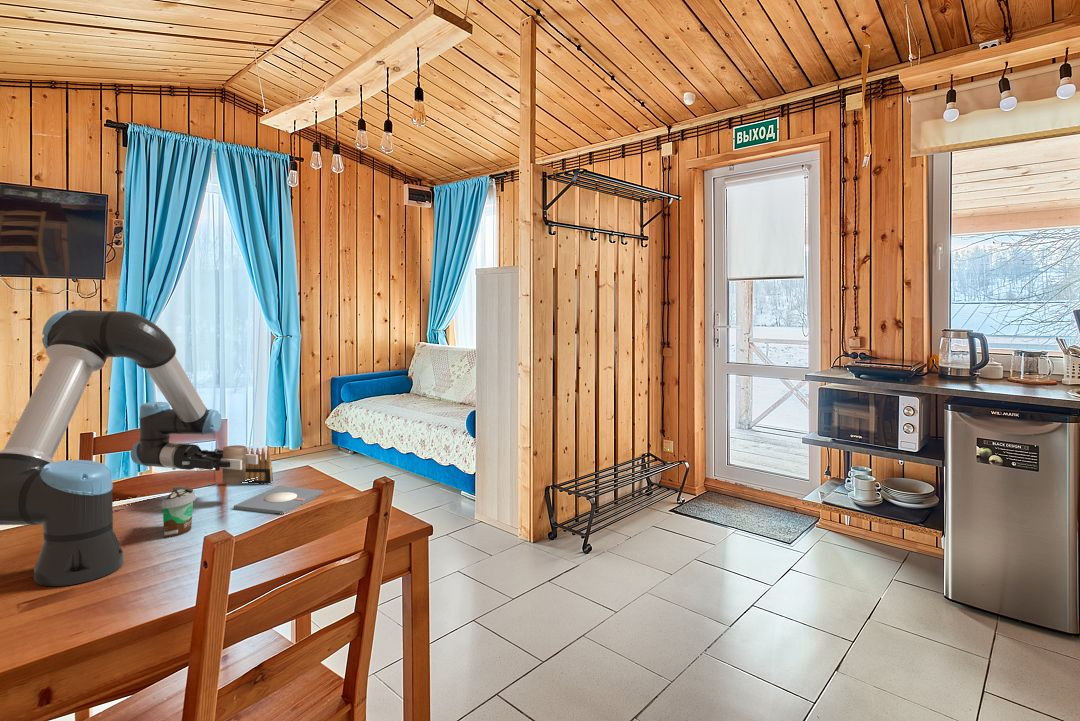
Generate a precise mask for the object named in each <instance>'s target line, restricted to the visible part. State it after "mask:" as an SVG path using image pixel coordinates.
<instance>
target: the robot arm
mask: <svg viewBox="0 0 1080 721" xmlns="http://www.w3.org/2000/svg"><path fill="white" fill-rule="evenodd" d="M42 336H43V337H42V338H41V343H42V345H43V347H44V349H45V354H46V356H47V358H48V359H49V361H48V363H47V365H46V367H45V369H44V371H43V373H42V375H41V376H40V379H39V380H38V382H37V383H36V384H37V385H36V386H35V388H34V390H33V392H32V393H31V396H30V397H29V400H28V402H27V404H26V406H25V407H24V409H23V412H22V413H21V415H20V417H19V419H18V421H17V423H16V425H15V427H14V429H13V431H12V433H11V435H10V436H9V438H8V440H7V442H6V444H5V446H4V448H3V449H2V450H0V526H38V525H39V526H42V530H43V544H42V546H41V549H40V552H39V555H38V559H37V561H36V564H35V566H34V569H33V580H34V581H33V582H35V583H36V584H38V585H40V586H45V587H63V586H71V585H76V584H77V585H78V584H83V583H86V582H90V581H94V580H97V579H100V578H103V577H106V576H109V575H110V574H112V573H114V572H116V571H117V570H119V569H121V567H122V566H123V565H124V561H125V560H124V559H125V558H124V557H125V556H124V555H125V554H124V551H123V548H122V546H121V544H120V543H119V542H120V541H119V540H118V537H117V536H116V534H115V532H114V525H113V524H114V518H113V516H114V514H113V512H114V511H113V508H114V507H113V487H114V483H113V480H112V479H113V478H112V473H111V469H110V468H109V467H108V466H107V465H106V464H104V463H102V462H99V461H94V460H87V459H86V460H84V459H74V460H69V459H68V460H67V459H66V460H58V461H54V460H53V459H54V457H55V454H56V453H57V450H58V449H59V446H60V444H61V442H62V439H63V437H64V435H65V432H66V431H67V429H68V427H69V424H70V422H71V420H72V417H73V416H74V413H75V411H76V408H77V407H78V405H79V402H80V400H81V398H82V396H83V393H84V392H85V389H86V387H87V385H88V383H89V381H90V379H91V377H92V375H93V373H94V372H96V371H100V370H102V369H103V368H104V365H105V364H106V362H107V359H108V358H127V359H129V360H133V361H134V362H135V364H136V366H138V367H139V368H142V369H145V370H146V372H147V373H148V375H149V377H150V378H151V380H152V381H153V382H154V384H155V385H156V387H157V388H158V390H159V391H160V392H161V394H162V395H163V396H164V398H165V400H166V401H167V402H166V401H165V402H164V401H151V402H144V403H142V404H141V406H140V408H139V417H138V419H139V441H137V442H135V443H134V444H133V445H132V448H131V451H130V458H131V460H132V462H133V463H135V464H137V465H141V466H145V467H156V468H170V469H172V470H173V471H175V470H176V469H178V470H186V471H187V470H188V471H189V470H190V471H191V470H194V469H202V470H213V469H214V471H215V472H218V471H220V469H223V468H225V469H236V470H241V469H242V460H236V459H225V458H223V449H218V448H215V449H214V450H207V449H203V450H202V449H201V447H200V446H199V445H198V444H194V443H193V444H191V443H180V442H170V438H171V437H170V435H202V436H204V435H214V434H216V433H218V432H219V431H220V429H221V427H222V414H221V412H220V411H219V410H216V409H212V408H211V409H208V408H207V407H206V405H205V404H204V402H203V400H202V399H201V397H200V395H199V393H198V392H197V391H196V389H195V387H194V385H193V383H192V382H191V379H190V378H189V377H188V375H187V373H186V371H185V370H184V368H183V367H182V365H181V363H180V361H179V360H178V358H177V356H176V355H177V349H176V346H175V345H174V342H173V341H172V340H171V338H170V337H169V336H168V335H167V334H166V332H164V330H162V328H160V327H159V326H158V325H156V324H155V323H154V322H152V321H151V320H149V319H148V318H146V317H144V316H142V315H139V314H138V313H134V312H131V311H122V310H121V311H119V310H117V311H115V310H113V311H112V310H87V309H81V308H79V309H78V308H77V309H71V310H69V309H67V310H61V311H58V312H56V313H54V314H53V315H51V317H49V318H48V319H47V321H46V322H45V324H44V325H43V328H42ZM246 464H258V455H256V454H254V455H253V454H250V453H249V454H246Z"/></svg>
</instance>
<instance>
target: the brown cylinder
mask: <svg viewBox="0 0 1080 721" xmlns="http://www.w3.org/2000/svg"><path fill="white" fill-rule="evenodd" d="M246 447H247V446H245V445H237V444H235V445H227V446H224V447H223V448H222V450H223V458H225V459H236V460H242V469H241V470H236V469H225V468H222V480H221V481H222V483H223V484H231V485H235V484H237V483H241V482H244V481H245V476H246Z"/></svg>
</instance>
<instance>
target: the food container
mask: <svg viewBox="0 0 1080 721" xmlns="http://www.w3.org/2000/svg"><path fill="white" fill-rule="evenodd" d="M196 496H197V495H196V493H195V491H194V489H193V488H191V487H189V486H172V491H171V493H169V494H168V495H167V498H166V499H162V504H161V509H162V516H163V517H162V519H163V520H162V522H163V538H164V539H169V537H170V538H174V537H179V536H181V535H184V534H186V533H189V532H190V531H191V530H192V523H193V508H194V502H195V500H196V499H197V497H196Z"/></svg>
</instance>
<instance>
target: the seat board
mask: <svg viewBox="0 0 1080 721" xmlns="http://www.w3.org/2000/svg"><path fill="white" fill-rule="evenodd" d="M323 492H324V493H325V490H323V489H313V488H303V487H294V486H285V485H284V486H283V485H278V486H275V487H273V488H271V489H268V490H266V491H264V492H262V493H259V494H257V495H254V496H253V497H250V498H248V499H246V500H243V501H241V502H239V503H236V504H234V505H233V510H237V511H238V510H239V511H249V512H257V513H266V514H273V513H281V514H280V515H285V514H287V513H288V512H287V511H289V510H291V509H293V510H295V509H297V508H299V507H301V506H302V505H301V504H303V505H304V503H305V504H306V502H307V503H308V502H311V501H312V500H314V499H316V498H317V497H316V496H318V495H320V494H322V493H323ZM322 495H323V494H322ZM320 496H321V495H320ZM315 497H316V498H315ZM318 497H319V496H318ZM300 505H301V506H300ZM298 506H299V507H298ZM294 508H295V509H294ZM291 511H292V510H291ZM284 512H286V513H284ZM289 512H290V511H289ZM282 513H284V514H282Z"/></svg>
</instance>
